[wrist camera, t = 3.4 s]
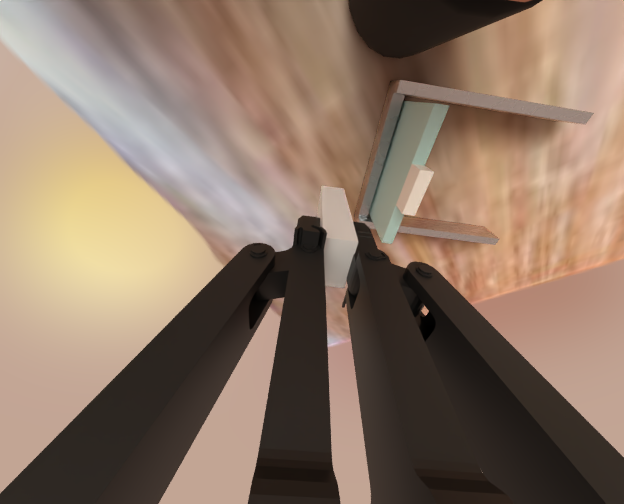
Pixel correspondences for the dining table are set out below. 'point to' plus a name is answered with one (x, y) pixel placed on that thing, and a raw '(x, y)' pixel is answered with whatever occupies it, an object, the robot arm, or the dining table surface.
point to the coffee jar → (425, 21)
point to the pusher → (406, 166)
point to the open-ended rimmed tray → (452, 96)
